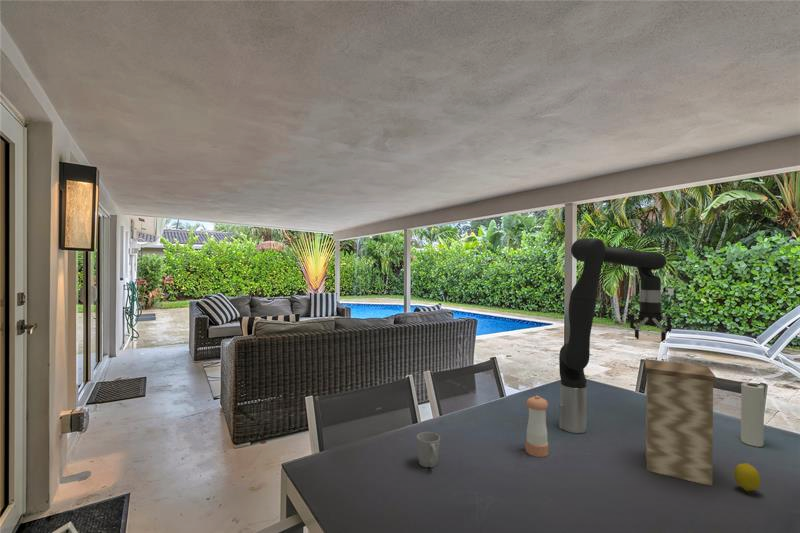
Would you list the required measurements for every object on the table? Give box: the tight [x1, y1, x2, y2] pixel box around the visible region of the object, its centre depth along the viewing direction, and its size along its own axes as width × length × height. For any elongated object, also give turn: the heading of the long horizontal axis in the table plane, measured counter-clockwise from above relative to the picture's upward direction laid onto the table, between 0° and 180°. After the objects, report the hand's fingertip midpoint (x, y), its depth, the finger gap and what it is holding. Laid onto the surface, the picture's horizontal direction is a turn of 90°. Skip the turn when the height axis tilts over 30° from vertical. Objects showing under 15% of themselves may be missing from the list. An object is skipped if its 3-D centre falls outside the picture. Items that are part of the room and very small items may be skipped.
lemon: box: [733, 462, 761, 493], centre depth 110 cm, size 6×6×8 cm
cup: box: [415, 431, 441, 468], centre depth 122 cm, size 8×10×8 cm
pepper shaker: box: [525, 395, 549, 458], centre depth 132 cm, size 7×7×19 cm
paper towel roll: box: [740, 382, 765, 448], centre depth 140 cm, size 7×6×21 cm
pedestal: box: [644, 358, 717, 487], centre depth 122 cm, size 17×15×32 cm
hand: (649, 340), depth 159 cm, fingers open, 8 cm apart
